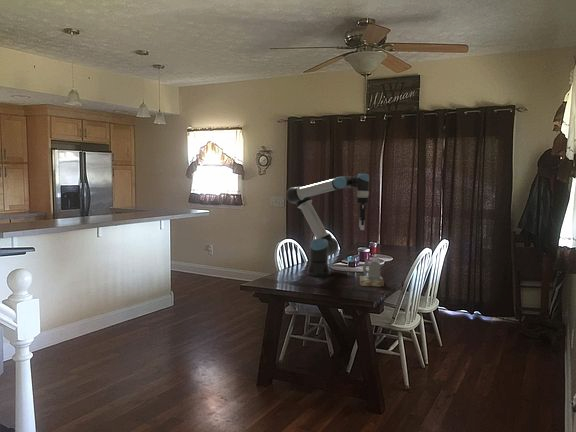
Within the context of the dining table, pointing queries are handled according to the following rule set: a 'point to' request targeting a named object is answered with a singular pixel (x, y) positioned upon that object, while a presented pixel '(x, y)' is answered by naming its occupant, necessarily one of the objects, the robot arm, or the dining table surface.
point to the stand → (371, 281)
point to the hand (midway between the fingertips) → (361, 228)
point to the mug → (372, 269)
